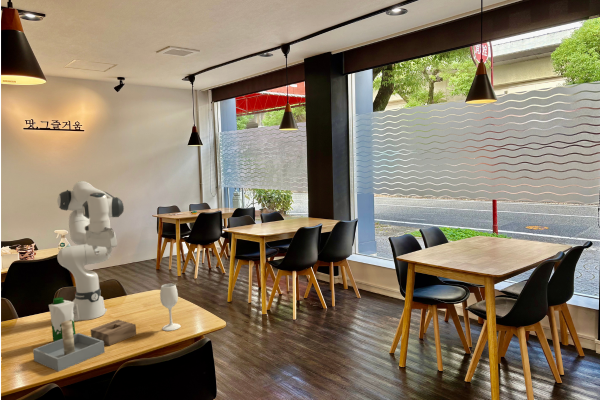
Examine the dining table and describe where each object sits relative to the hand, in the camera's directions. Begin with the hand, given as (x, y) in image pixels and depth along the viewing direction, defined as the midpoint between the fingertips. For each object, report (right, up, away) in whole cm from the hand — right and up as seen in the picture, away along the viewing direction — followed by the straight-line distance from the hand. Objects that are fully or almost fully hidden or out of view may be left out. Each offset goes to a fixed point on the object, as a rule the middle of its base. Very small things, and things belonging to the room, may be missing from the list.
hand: (102, 255), depth 212 cm
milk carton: (-14, -39, -8) cm, 42 cm away
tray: (-3, -40, -25) cm, 47 cm away
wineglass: (+32, -36, +3) cm, 48 cm away
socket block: (+8, -37, -6) cm, 39 cm away
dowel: (-3, -39, -25) cm, 46 cm away
